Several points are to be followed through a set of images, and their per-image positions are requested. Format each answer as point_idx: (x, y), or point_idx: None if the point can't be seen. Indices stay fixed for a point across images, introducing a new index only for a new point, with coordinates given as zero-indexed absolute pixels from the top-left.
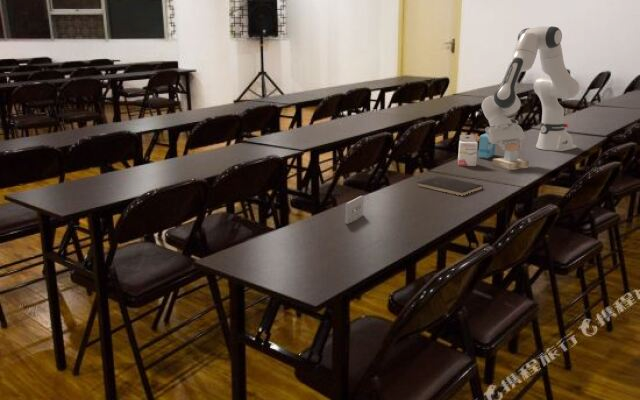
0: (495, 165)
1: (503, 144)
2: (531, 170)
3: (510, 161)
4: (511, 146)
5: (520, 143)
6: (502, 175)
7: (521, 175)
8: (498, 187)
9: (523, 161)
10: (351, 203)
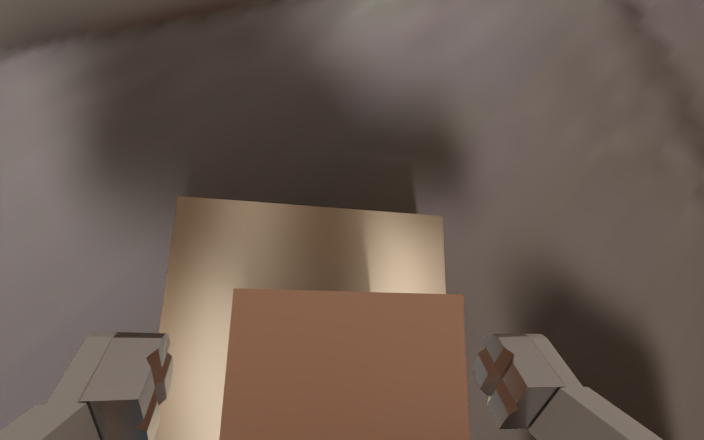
0: None
1: (584, 407)
2: (259, 126)
3: None
4: (437, 295)
5: (63, 393)
6: (550, 146)
7: (438, 76)
8: (688, 2)
9: (234, 223)
10: None
